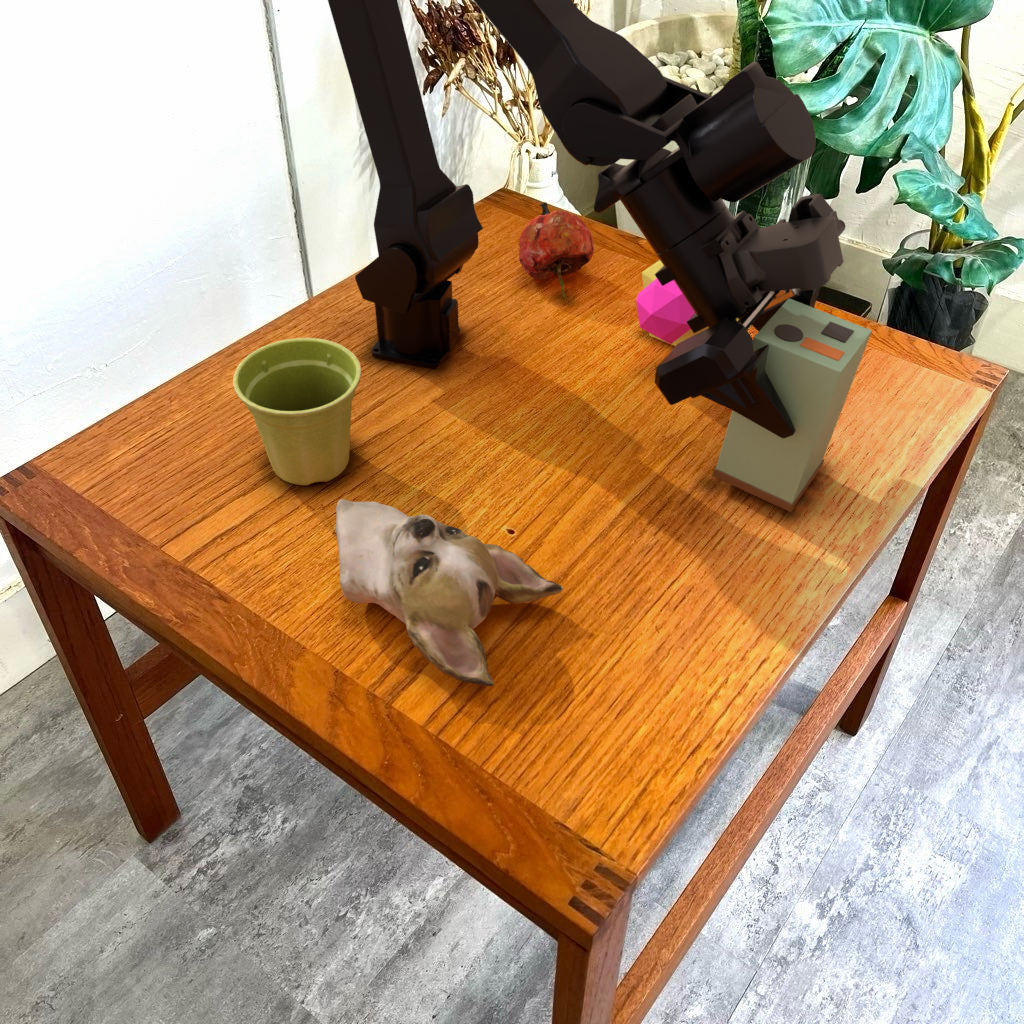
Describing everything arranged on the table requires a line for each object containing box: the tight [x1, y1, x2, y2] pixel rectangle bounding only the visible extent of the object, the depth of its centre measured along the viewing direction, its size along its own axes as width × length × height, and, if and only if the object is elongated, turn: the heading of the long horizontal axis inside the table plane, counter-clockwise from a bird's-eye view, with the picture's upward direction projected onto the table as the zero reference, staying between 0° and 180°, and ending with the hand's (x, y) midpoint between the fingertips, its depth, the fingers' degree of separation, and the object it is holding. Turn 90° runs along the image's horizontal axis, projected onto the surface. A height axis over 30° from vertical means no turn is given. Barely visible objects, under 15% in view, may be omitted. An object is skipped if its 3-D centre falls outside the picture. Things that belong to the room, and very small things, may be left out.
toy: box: [635, 259, 752, 347], centre depth 93 cm, size 10×18×10 cm, turn 143°
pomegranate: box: [518, 201, 595, 300], centre depth 101 cm, size 7×7×10 cm
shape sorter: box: [711, 299, 873, 513], centre depth 76 cm, size 7×7×13 cm
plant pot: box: [232, 337, 362, 486], centre depth 79 cm, size 9×9×9 cm
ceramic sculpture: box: [335, 498, 564, 687], centre depth 68 cm, size 11×9×15 cm
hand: (807, 409), depth 75 cm, fingers closed on shape sorter, 7 cm apart
